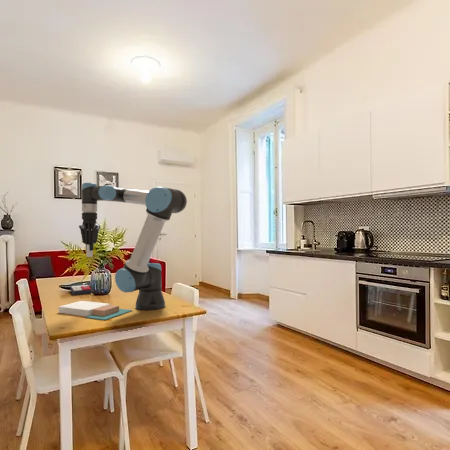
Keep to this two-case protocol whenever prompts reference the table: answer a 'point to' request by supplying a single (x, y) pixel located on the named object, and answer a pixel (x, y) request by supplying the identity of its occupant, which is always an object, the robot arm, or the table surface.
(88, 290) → the calculator
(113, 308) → the tile
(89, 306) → the panel
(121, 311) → the mat
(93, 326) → the table surface
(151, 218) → the robot arm
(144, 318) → the table surface
